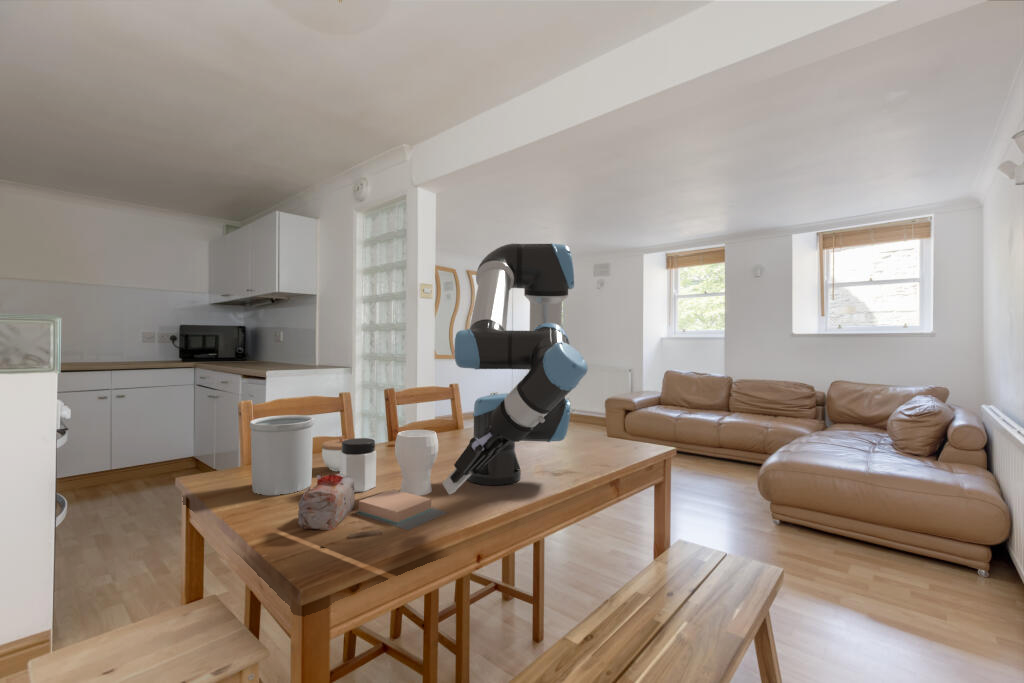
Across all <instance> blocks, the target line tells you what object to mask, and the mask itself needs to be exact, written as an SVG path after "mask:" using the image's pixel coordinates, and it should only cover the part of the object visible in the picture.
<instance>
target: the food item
mask: <svg viewBox="0 0 1024 683" xmlns="http://www.w3.org/2000/svg"><path fill="white" fill-rule="evenodd" d="M355 501H356V498H355V492H354V478H352V477H351V476H349V475H345V474H340V473H336V474H335V473H331V474H327V475H324V476H321V475H320V474H317V475H316V485H315V486H314V487H312V486H309V487H308V488H306V490H305V491H304V493H303V495H302V496H301V498H300V500H299V502H298V504H297V505H298V514H297V517H298V521H297V522H298V526H300V528H301V529H302V528H303V529H305V530H307V529H309V530H313V529H314V530H315V529H316V530H320V531H330V530H335V529H336V528H337V527H338V526H339V525H340V524H341V523H342V522H343V521H344V519H345V518H346V517H347V516H348V515H350V513H351V511H353V510H354V508H355Z"/></svg>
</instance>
